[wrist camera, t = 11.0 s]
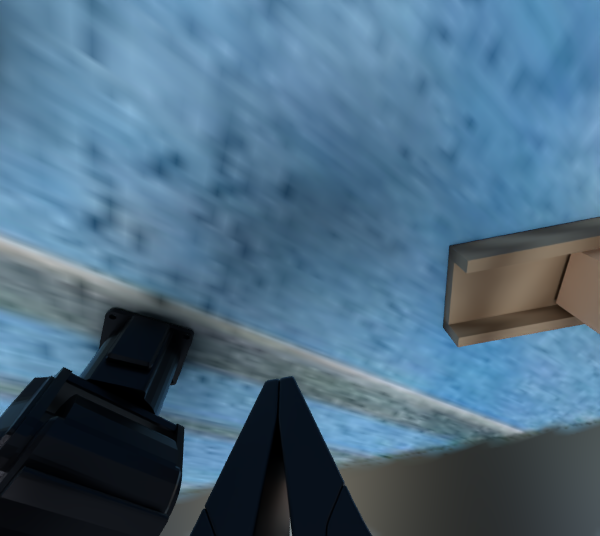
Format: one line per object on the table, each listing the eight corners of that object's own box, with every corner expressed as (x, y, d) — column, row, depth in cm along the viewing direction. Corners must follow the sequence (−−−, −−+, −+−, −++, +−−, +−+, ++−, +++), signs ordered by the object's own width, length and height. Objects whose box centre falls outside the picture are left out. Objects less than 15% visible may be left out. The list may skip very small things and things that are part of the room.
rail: (443, 327, 26) (457, 347, 24) (449, 245, 22) (468, 260, 20) (640, 290, 25) (673, 307, 23) (683, 200, 21) (727, 211, 19)
